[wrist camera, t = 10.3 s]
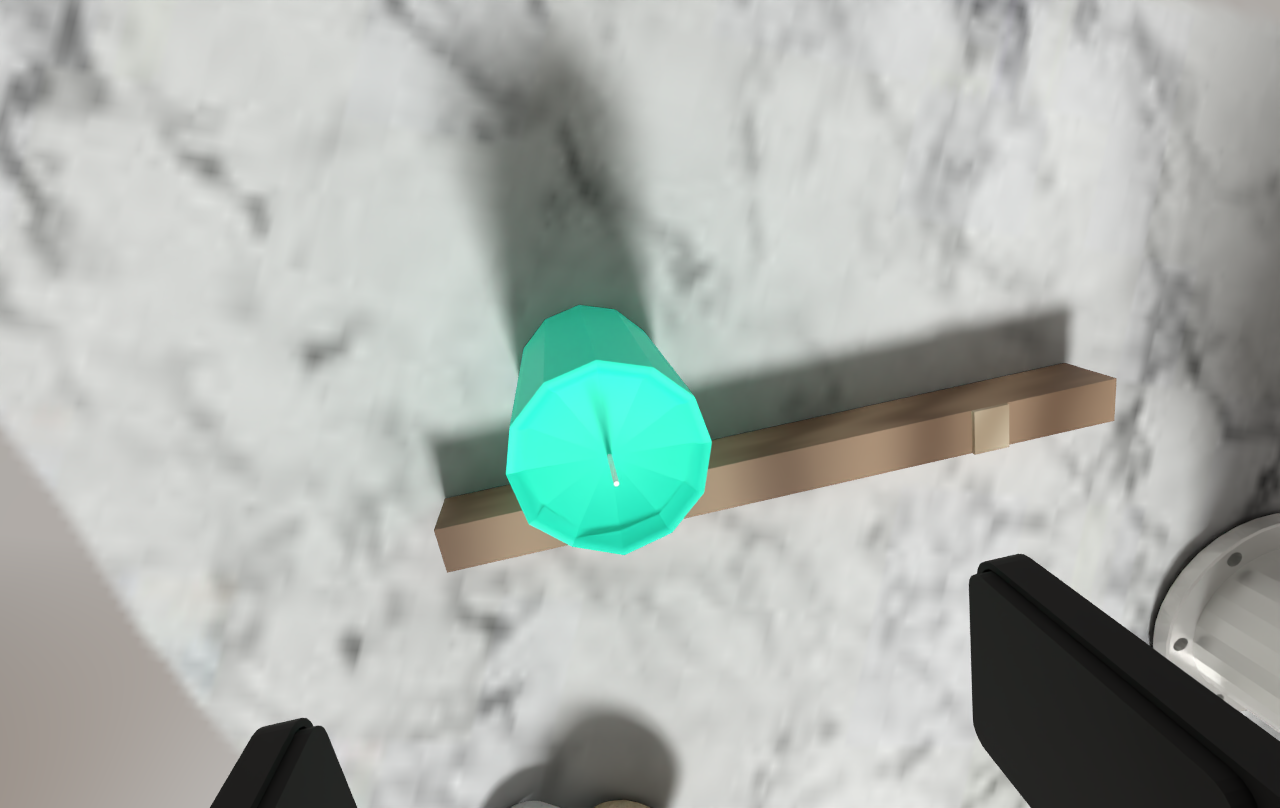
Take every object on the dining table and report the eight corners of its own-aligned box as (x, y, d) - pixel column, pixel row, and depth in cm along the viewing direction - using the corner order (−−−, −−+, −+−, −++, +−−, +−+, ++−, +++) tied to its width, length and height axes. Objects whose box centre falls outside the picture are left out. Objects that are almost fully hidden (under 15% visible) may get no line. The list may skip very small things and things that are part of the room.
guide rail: (1064, 362, 31) (1120, 379, 28) (1063, 401, 32) (1117, 421, 29) (445, 498, 29) (433, 532, 26) (456, 537, 30) (446, 575, 27)
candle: (548, 282, 27) (548, 336, 16) (678, 334, 28) (765, 420, 17) (499, 411, 28) (466, 548, 17) (625, 455, 30) (674, 609, 18)
